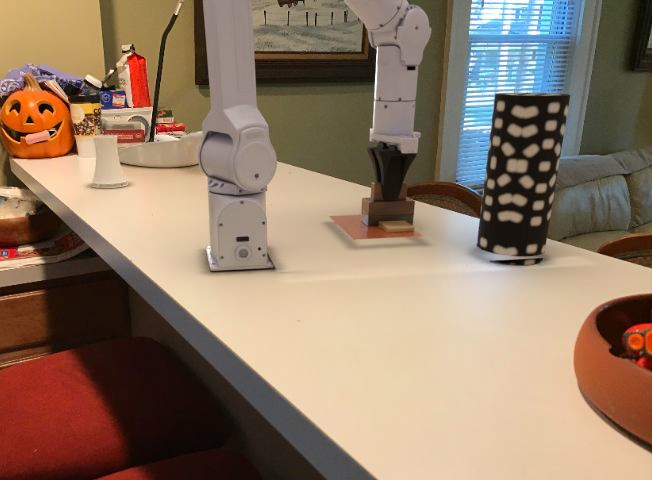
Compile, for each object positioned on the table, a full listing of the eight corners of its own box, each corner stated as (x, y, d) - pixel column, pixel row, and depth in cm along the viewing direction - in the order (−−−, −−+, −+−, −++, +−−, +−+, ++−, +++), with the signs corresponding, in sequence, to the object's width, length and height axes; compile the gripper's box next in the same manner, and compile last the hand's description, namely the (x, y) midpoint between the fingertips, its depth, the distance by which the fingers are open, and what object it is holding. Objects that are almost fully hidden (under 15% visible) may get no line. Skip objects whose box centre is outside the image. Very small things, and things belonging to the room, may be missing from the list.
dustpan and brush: (190, 154, 170) (189, 119, 167) (254, 170, 145) (254, 129, 142) (111, 161, 158) (108, 124, 155) (166, 180, 133) (163, 135, 129)
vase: (85, 184, 128) (79, 135, 124) (118, 180, 132) (113, 133, 129) (101, 189, 122) (95, 138, 119) (134, 185, 127) (130, 136, 123)
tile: (422, 244, 84) (423, 236, 84) (353, 247, 83) (353, 239, 83) (388, 220, 97) (389, 213, 97) (328, 223, 96) (328, 215, 95)
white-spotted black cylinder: (500, 267, 75) (524, 96, 67) (463, 249, 82) (481, 93, 75) (557, 262, 77) (587, 95, 69) (516, 244, 84) (538, 92, 77)
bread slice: (414, 231, 86) (414, 226, 86) (387, 232, 86) (387, 228, 85) (404, 225, 90) (404, 220, 90) (378, 226, 89) (378, 221, 89)
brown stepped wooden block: (367, 226, 89) (370, 185, 87) (360, 220, 92) (362, 181, 90) (413, 224, 90) (416, 183, 88) (404, 218, 93) (407, 179, 91)
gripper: (443, 103, 79) (433, 206, 84) (403, 97, 92) (397, 187, 97) (391, 103, 78) (384, 208, 83) (358, 98, 91) (354, 188, 96)
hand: (388, 197), depth 90 cm, fingers closed on brown stepped wooden block
